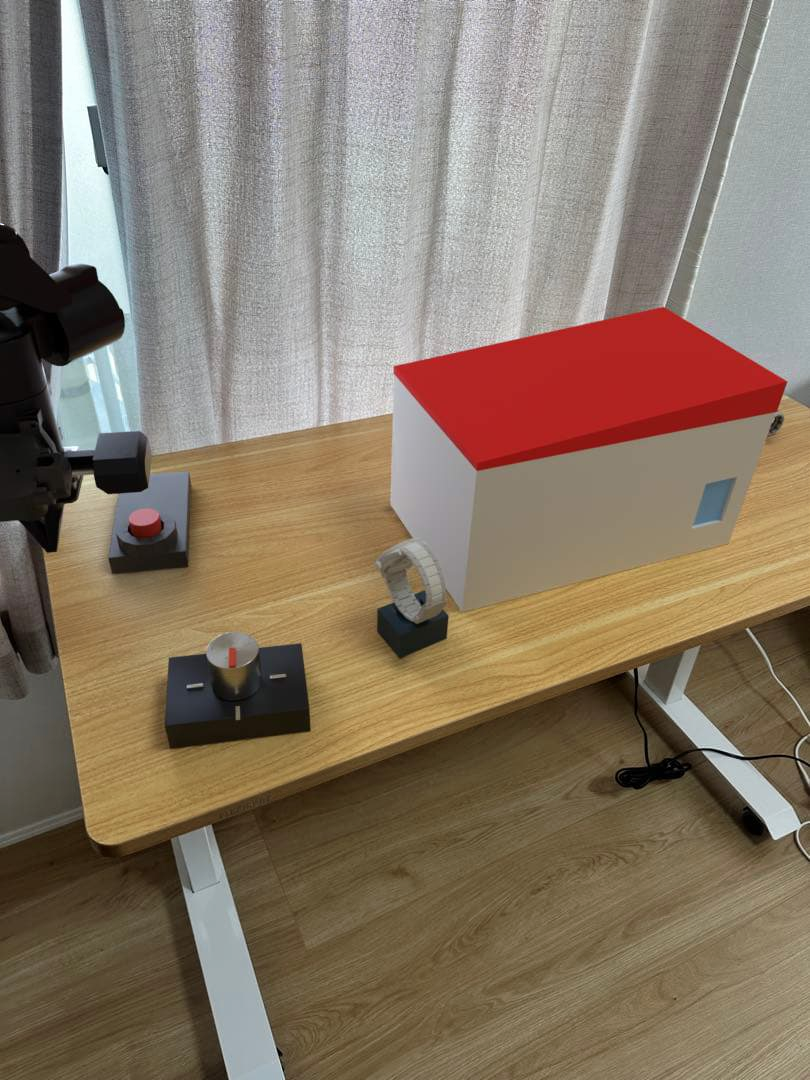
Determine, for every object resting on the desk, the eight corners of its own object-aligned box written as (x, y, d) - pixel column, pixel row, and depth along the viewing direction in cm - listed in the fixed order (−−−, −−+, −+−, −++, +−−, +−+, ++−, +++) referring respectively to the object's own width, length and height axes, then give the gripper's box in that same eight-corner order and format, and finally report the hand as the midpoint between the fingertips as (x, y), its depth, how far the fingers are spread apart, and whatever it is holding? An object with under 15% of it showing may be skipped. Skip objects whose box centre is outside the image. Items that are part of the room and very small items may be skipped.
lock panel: (169, 752, 68) (164, 727, 66) (173, 677, 75) (168, 653, 73) (311, 734, 70) (309, 710, 68) (302, 662, 77) (301, 639, 75)
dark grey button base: (188, 570, 87) (183, 541, 85) (111, 577, 86) (104, 547, 84) (191, 486, 100) (187, 458, 98) (124, 490, 99) (118, 463, 96)
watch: (413, 601, 84) (417, 517, 78) (456, 649, 79) (465, 562, 72) (366, 620, 82) (367, 534, 75) (408, 670, 77) (412, 582, 70)
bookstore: (731, 543, 94) (789, 381, 82) (462, 612, 83) (480, 437, 71) (629, 454, 110) (665, 306, 97) (389, 503, 98) (394, 343, 86)
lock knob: (211, 666, 72) (206, 631, 70) (261, 661, 73) (257, 626, 70) (210, 703, 69) (204, 668, 66) (263, 697, 70) (259, 663, 67)
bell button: (161, 537, 86) (158, 524, 85) (130, 540, 85) (127, 527, 84) (162, 520, 88) (160, 507, 87) (132, 522, 88) (129, 509, 87)
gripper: (-167, 449, 53) (-90, 622, 63) (125, 432, 57) (158, 599, 66) (-114, 376, 62) (-53, 537, 72) (137, 365, 65) (164, 521, 75)
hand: (52, 549), depth 71 cm, fingers closed
